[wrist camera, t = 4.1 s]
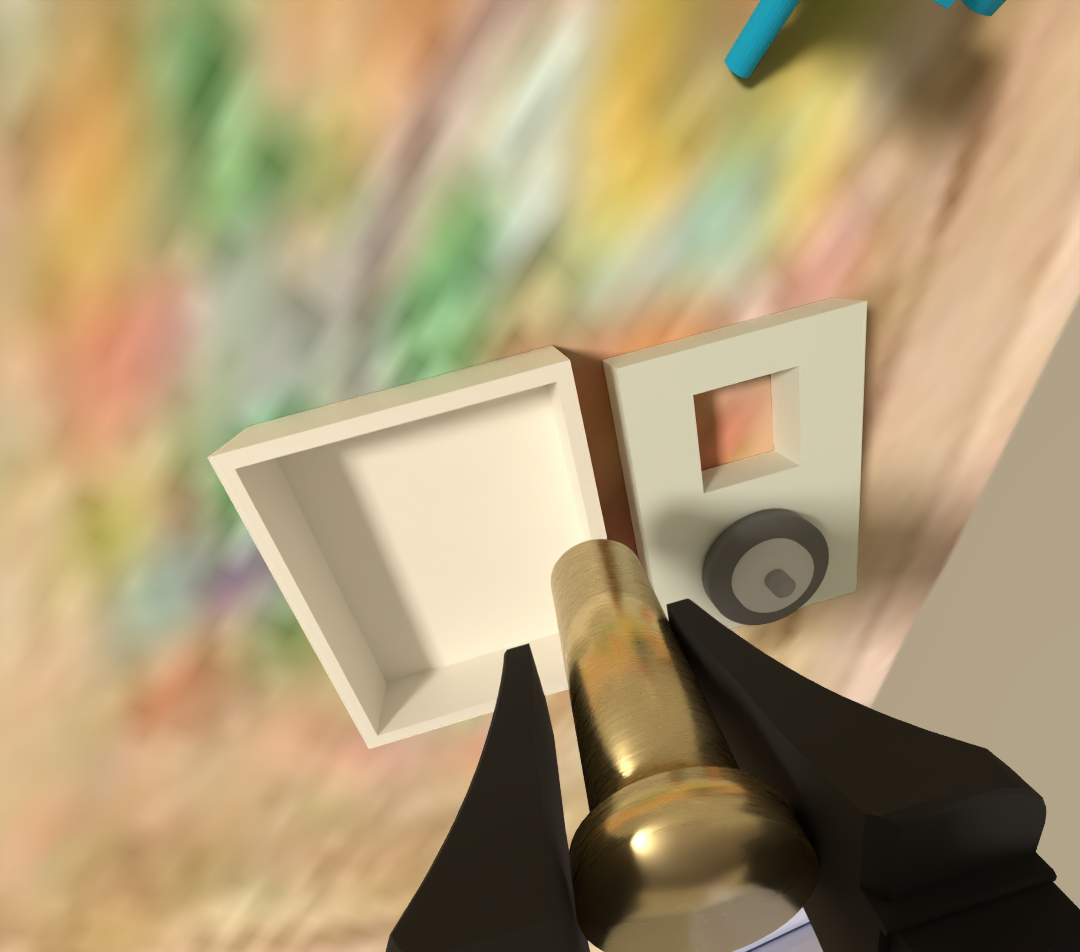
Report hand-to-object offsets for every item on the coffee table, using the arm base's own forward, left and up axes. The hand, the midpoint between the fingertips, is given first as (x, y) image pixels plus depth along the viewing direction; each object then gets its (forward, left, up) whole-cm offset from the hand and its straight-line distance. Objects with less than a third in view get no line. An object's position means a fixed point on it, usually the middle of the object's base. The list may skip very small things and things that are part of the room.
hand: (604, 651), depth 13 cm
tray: (-1, +4, -10) cm, 11 cm away
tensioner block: (-2, -9, -10) cm, 13 cm away
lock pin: (0, -1, -3) cm, 3 cm away
